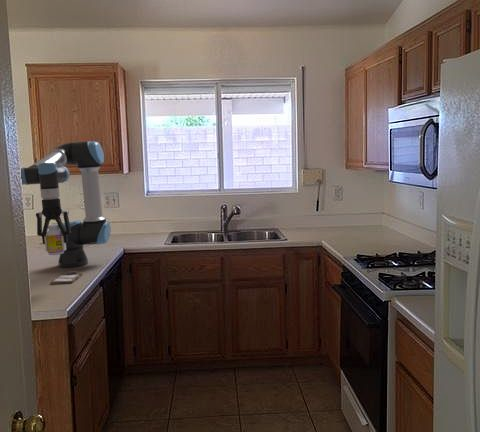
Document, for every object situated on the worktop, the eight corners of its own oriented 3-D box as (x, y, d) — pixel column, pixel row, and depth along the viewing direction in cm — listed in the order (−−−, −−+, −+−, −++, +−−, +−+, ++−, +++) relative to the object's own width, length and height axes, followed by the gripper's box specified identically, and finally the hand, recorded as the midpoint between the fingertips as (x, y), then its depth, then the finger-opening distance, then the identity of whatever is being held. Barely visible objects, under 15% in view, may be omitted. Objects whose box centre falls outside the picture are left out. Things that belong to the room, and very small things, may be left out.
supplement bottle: (57, 255, 223) (54, 226, 221) (45, 255, 225) (41, 226, 223) (67, 252, 229) (64, 223, 227) (55, 252, 231) (52, 223, 230)
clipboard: (61, 276, 251) (61, 271, 251) (82, 275, 251) (82, 270, 251) (50, 284, 235) (49, 279, 235) (72, 283, 236) (71, 278, 235)
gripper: (24, 200, 220) (30, 253, 223) (70, 197, 220) (76, 251, 223) (31, 198, 227) (36, 250, 230) (75, 196, 228) (81, 247, 231)
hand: (56, 250), depth 227 cm, fingers closed on supplement bottle, 7 cm apart
